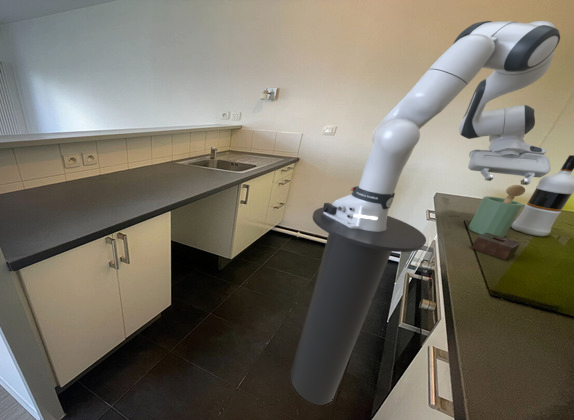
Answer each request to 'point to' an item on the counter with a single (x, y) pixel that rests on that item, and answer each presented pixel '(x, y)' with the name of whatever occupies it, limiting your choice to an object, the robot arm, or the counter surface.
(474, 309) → the counter surface
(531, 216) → the vodka
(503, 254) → the spoon stand
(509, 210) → the cup
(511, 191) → the spoon
